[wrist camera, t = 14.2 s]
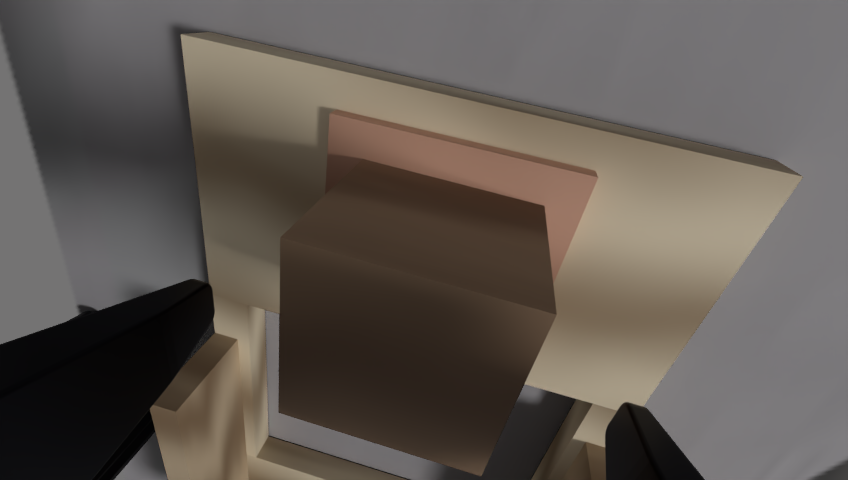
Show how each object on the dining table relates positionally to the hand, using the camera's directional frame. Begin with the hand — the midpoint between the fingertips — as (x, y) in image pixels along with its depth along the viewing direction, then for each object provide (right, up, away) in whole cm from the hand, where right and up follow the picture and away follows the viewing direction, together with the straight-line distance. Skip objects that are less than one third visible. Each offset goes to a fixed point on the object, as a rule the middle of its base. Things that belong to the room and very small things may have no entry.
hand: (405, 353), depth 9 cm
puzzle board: (0, -4, +9) cm, 10 cm away
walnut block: (+1, +2, +3) cm, 4 cm away
